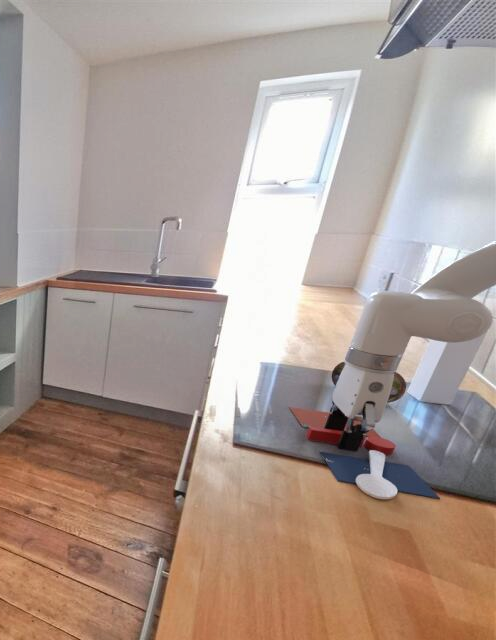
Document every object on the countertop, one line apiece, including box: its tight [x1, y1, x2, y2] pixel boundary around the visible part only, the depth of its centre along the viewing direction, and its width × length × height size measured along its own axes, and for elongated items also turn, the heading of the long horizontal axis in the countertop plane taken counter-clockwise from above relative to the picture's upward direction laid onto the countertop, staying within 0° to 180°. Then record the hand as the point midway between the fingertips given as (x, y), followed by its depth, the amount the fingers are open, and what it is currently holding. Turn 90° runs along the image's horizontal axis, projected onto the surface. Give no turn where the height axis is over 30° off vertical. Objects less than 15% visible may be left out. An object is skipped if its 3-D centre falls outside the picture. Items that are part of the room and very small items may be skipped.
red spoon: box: [305, 427, 397, 456], centre depth 84 cm, size 14×4×2 cm, turn 69°
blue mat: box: [318, 450, 441, 500], centre depth 75 cm, size 14×10×1 cm
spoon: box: [355, 450, 398, 500], centre depth 74 cm, size 5×18×1 cm, turn 138°
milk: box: [406, 331, 488, 406], centre depth 99 cm, size 6×6×22 cm
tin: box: [331, 361, 407, 404], centre depth 103 cm, size 15×3×8 cm, turn 17°
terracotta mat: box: [289, 406, 382, 438], centre depth 93 cm, size 14×10×1 cm
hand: (339, 439), depth 84 cm, fingers open, 6 cm apart
